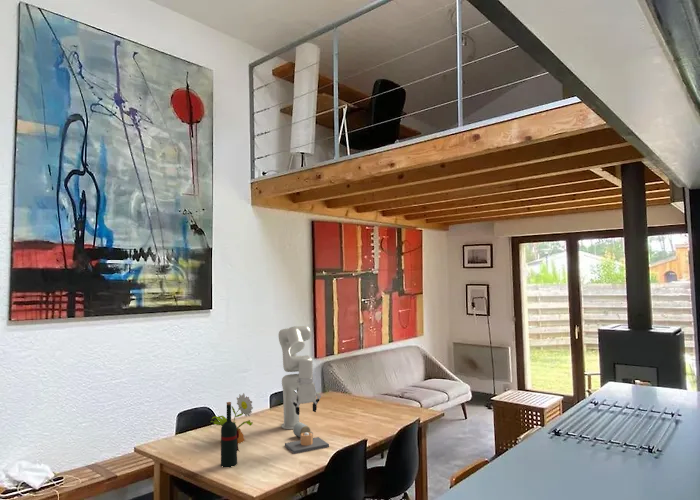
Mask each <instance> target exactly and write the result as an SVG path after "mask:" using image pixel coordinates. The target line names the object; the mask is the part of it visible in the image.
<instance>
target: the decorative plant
mask: <svg viewBox="0 0 700 500" xmlns="http://www.w3.org/2000/svg"><path fill="white" fill-rule="evenodd" d="M236 400H237V401H236V405H237V406H238V407H237V408H238V410H237V411H235V408H234V406H232V405H231V411H232V412H233V414H234V418H233V422H234V423H235V424H236V421H235V420H236V418H238V417H241V416H243V415H244V416H245V417H247V416H248V417H250V416H251V414H252V413H253V411H252V410H253V409H254V407H253V404H252V403H253V401H252V400H251V399H250V397H249V396H246V395H245V393H244V392H243V393H242V394H241V393H240V394H239V396H238V397H236ZM239 411H240V413H239V414H238V412H239ZM213 420H214V421H213ZM225 422H227V417H225V416H224V415H218V416H216V415H215V416H212V418H211V421H210V423H213V425H216V426H220V427H222V425H223V424H224V423H225ZM245 424H247V425H249V427H250V426H253V424H254V422H253V421H252V422H251V420H249V419H248V420H246V421H243V422H242V423H240V424H239V425H238V426H237V431H239V438H237V441H238V443H239V444H241V442H242V443H244V442H245V437H244V433H243V432H242V430H241V426H243V425H245ZM243 441H244V442H243Z"/></svg>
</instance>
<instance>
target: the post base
mask: <svg viewBox="0 0 700 500" xmlns="http://www.w3.org/2000/svg"><path fill="white" fill-rule="evenodd" d="M304 435H306V436H307V435H309V433H307V432H306V433H305V434H304ZM284 447H285V448H286V449H288V450H289V451H290V452H291V453H292V454H295V455H296V454H300V453H306V452H311V451H315V450H320V449H321V450H322V449H325V448H329V447H330V443H328V442H326V441H325V440H323V439H322V438H320V437H319V436H317V437H313V444H311V445H308V446H305V445H301V439H300V440H296V441H295V440H294V441H290V442H284Z"/></svg>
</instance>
